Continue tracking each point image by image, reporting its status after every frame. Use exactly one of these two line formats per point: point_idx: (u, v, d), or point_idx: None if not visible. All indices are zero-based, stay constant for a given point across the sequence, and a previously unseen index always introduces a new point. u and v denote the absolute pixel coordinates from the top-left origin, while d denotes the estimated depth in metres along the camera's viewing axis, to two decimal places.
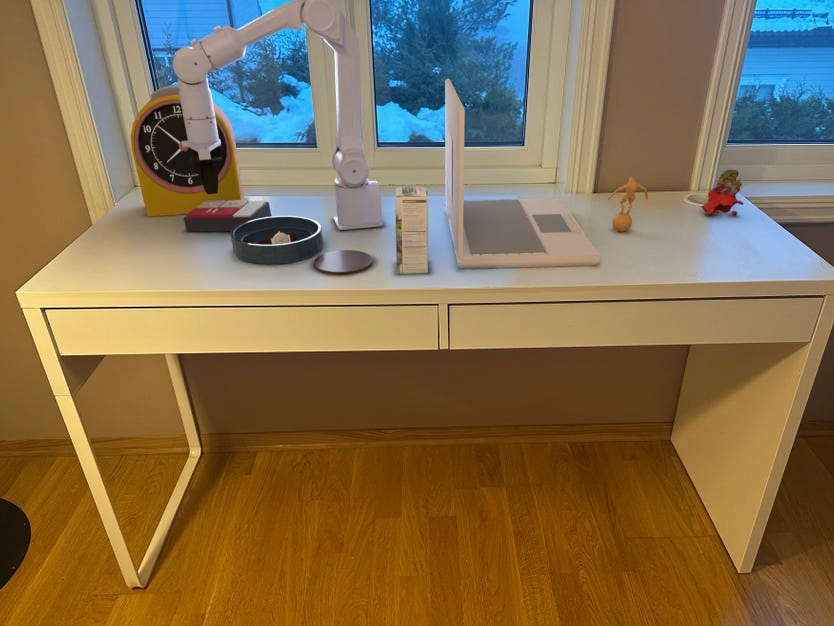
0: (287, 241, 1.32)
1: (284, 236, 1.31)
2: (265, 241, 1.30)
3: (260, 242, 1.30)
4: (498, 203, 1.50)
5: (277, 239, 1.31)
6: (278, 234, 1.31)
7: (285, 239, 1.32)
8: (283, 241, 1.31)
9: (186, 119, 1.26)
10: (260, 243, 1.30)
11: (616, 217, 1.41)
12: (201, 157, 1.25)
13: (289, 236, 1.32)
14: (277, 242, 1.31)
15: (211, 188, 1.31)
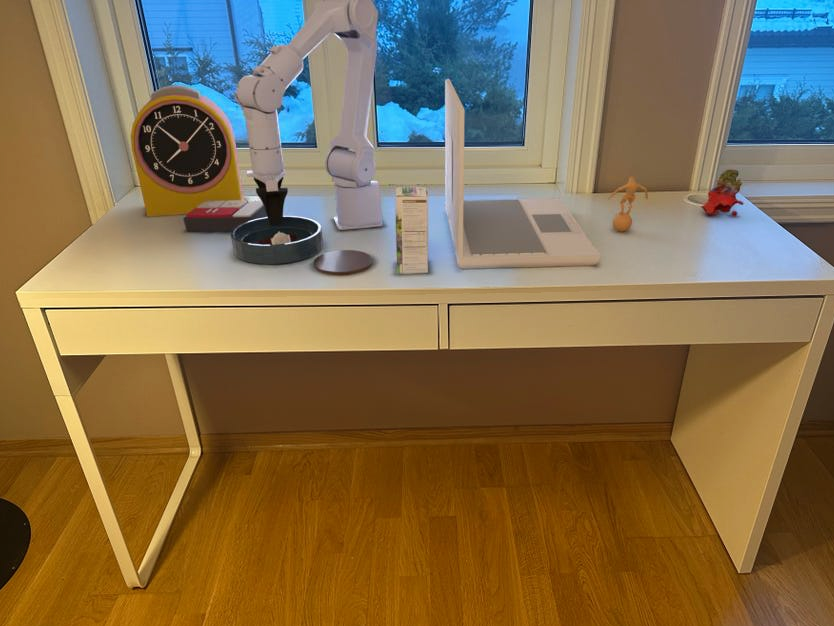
0: (287, 241, 1.32)
1: (284, 236, 1.31)
2: (265, 241, 1.30)
3: (260, 242, 1.30)
4: (498, 203, 1.50)
5: (277, 239, 1.31)
6: (278, 234, 1.31)
7: (285, 239, 1.32)
8: (283, 241, 1.31)
9: (252, 149, 1.22)
10: (260, 243, 1.30)
11: (616, 217, 1.41)
12: (268, 189, 1.20)
13: (289, 236, 1.32)
14: (277, 242, 1.31)
15: (275, 220, 1.26)
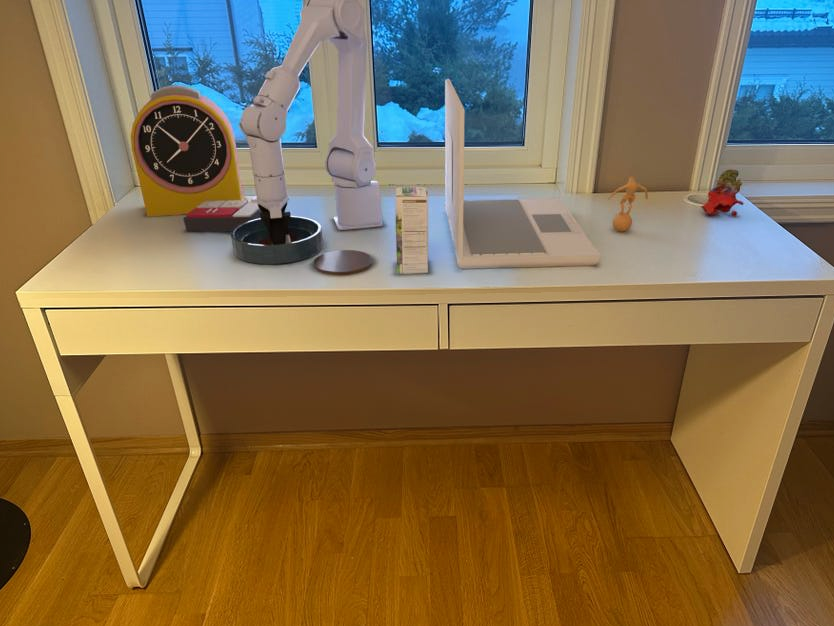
0: (287, 241, 1.32)
1: None
2: (265, 241, 1.30)
3: (260, 242, 1.30)
4: (498, 203, 1.50)
5: None
6: None
7: None
8: None
9: (256, 176, 1.24)
10: (260, 243, 1.30)
11: (616, 217, 1.41)
12: (272, 215, 1.23)
13: (289, 236, 1.32)
14: None
15: (279, 243, 1.30)
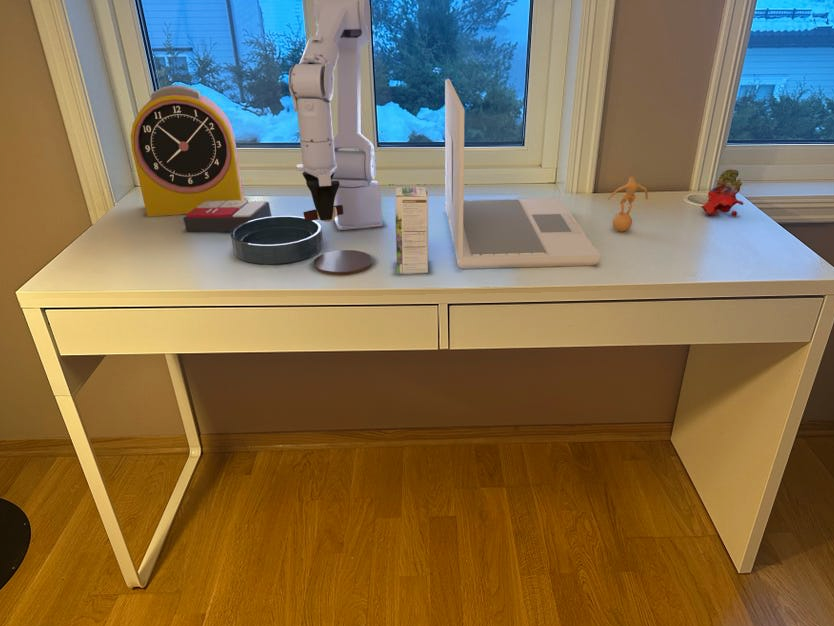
0: (334, 213, 1.23)
1: None
2: (311, 213, 1.21)
3: (305, 214, 1.22)
4: (498, 203, 1.50)
5: None
6: None
7: None
8: None
9: (304, 141, 1.16)
10: (305, 215, 1.22)
11: (616, 217, 1.41)
12: (321, 183, 1.14)
13: (336, 208, 1.23)
14: None
15: (325, 214, 1.21)
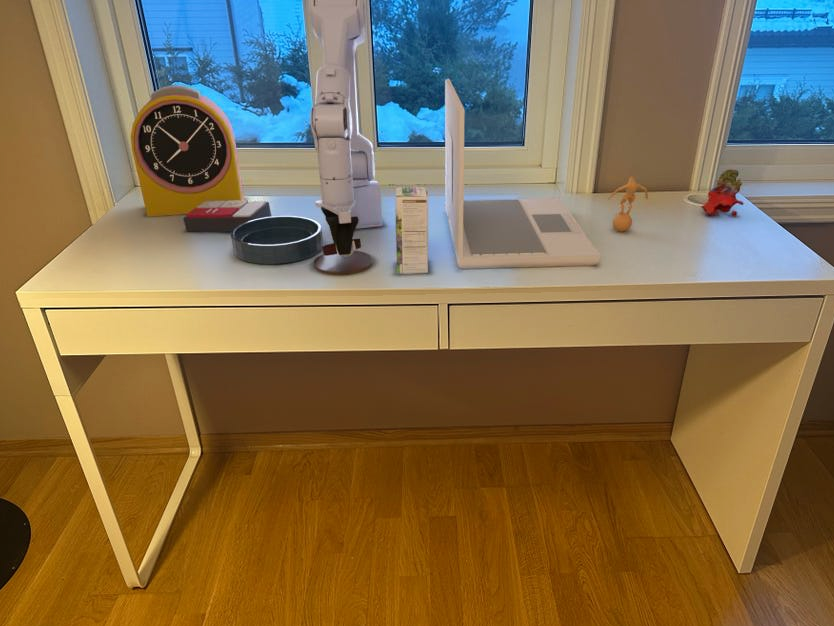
0: (352, 247, 1.25)
1: None
2: (330, 247, 1.23)
3: (324, 248, 1.23)
4: (498, 203, 1.50)
5: None
6: None
7: None
8: None
9: (324, 179, 1.17)
10: (324, 249, 1.23)
11: (616, 217, 1.41)
12: (341, 220, 1.16)
13: (354, 242, 1.25)
14: None
15: (344, 249, 1.23)
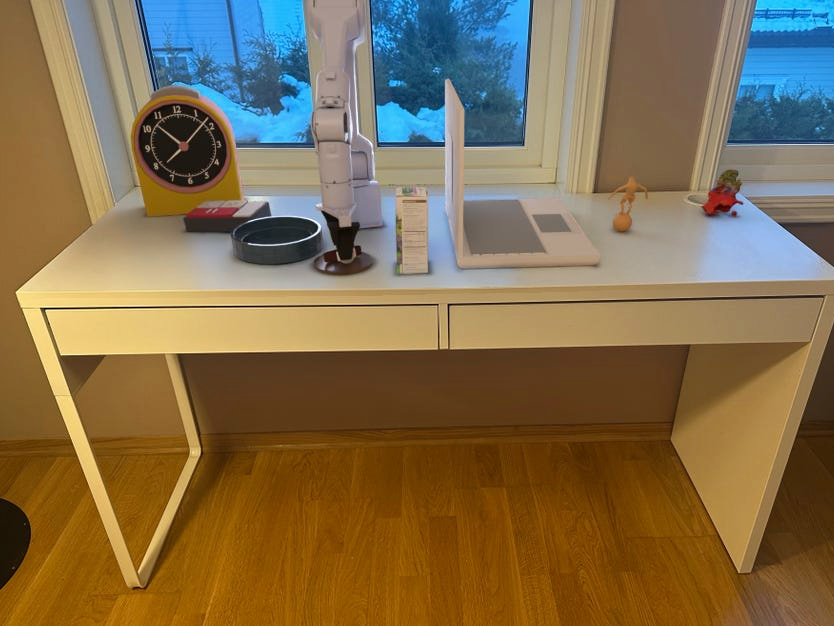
0: None
1: None
2: (330, 254, 1.24)
3: (325, 255, 1.24)
4: (498, 203, 1.50)
5: None
6: None
7: None
8: None
9: (324, 183, 1.17)
10: (325, 256, 1.24)
11: (616, 217, 1.41)
12: (342, 224, 1.16)
13: (354, 249, 1.26)
14: None
15: (345, 254, 1.22)
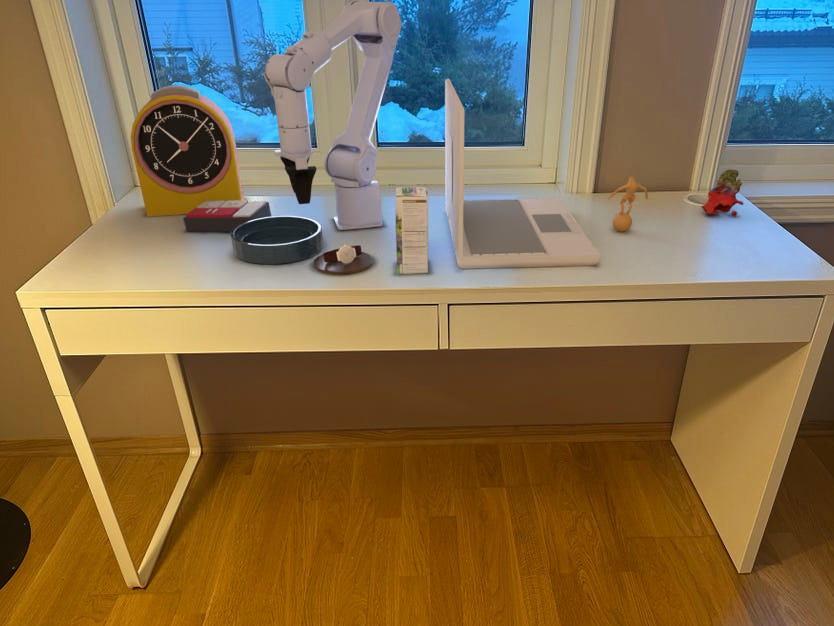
0: (352, 254, 1.25)
1: (349, 249, 1.25)
2: (330, 254, 1.24)
3: (325, 255, 1.24)
4: (498, 203, 1.50)
5: (342, 252, 1.24)
6: (343, 247, 1.24)
7: (350, 252, 1.25)
8: (348, 254, 1.25)
9: (281, 128, 1.23)
10: (325, 256, 1.24)
11: (616, 217, 1.41)
12: (298, 167, 1.22)
13: (354, 249, 1.26)
14: (342, 255, 1.24)
15: (304, 198, 1.28)
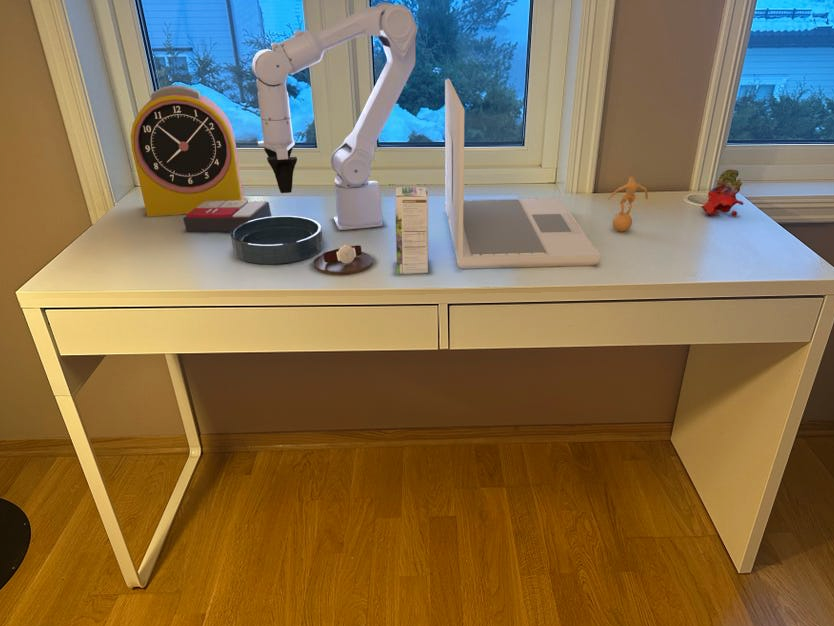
0: (352, 254, 1.25)
1: (349, 249, 1.25)
2: (330, 254, 1.24)
3: (325, 255, 1.24)
4: (498, 203, 1.50)
5: (342, 252, 1.24)
6: (343, 247, 1.24)
7: (350, 252, 1.25)
8: (348, 254, 1.25)
9: (264, 120, 1.29)
10: (325, 256, 1.24)
11: (616, 217, 1.41)
12: (279, 157, 1.28)
13: (354, 249, 1.26)
14: (342, 255, 1.24)
15: (285, 188, 1.34)
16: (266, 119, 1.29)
